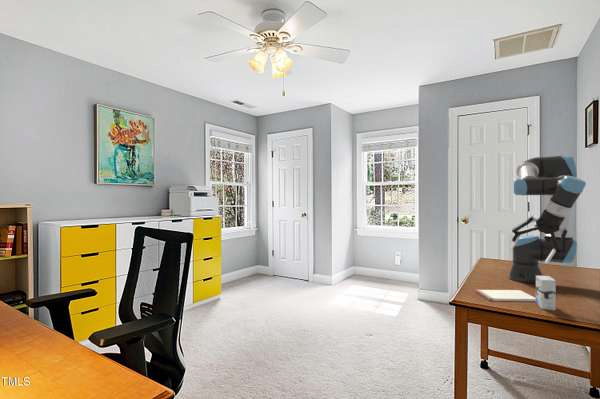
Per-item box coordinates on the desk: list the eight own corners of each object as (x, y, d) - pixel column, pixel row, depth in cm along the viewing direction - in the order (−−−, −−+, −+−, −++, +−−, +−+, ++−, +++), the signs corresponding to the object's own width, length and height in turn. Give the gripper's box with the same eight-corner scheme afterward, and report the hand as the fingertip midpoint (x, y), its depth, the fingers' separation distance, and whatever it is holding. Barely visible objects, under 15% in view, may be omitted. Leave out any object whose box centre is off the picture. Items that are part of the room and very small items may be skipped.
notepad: (519, 292, 157) (520, 289, 157) (537, 301, 144) (537, 298, 144) (475, 291, 159) (475, 289, 159) (489, 300, 146) (489, 298, 146)
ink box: (535, 302, 143) (535, 274, 143) (549, 303, 141) (549, 275, 141) (541, 309, 135) (541, 279, 135) (556, 310, 133) (556, 280, 133)
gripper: (521, 202, 140) (497, 245, 149) (592, 229, 130) (562, 273, 139) (521, 198, 146) (498, 239, 155) (589, 223, 136) (560, 265, 145)
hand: (528, 255), depth 147 cm, fingers open, 13 cm apart
